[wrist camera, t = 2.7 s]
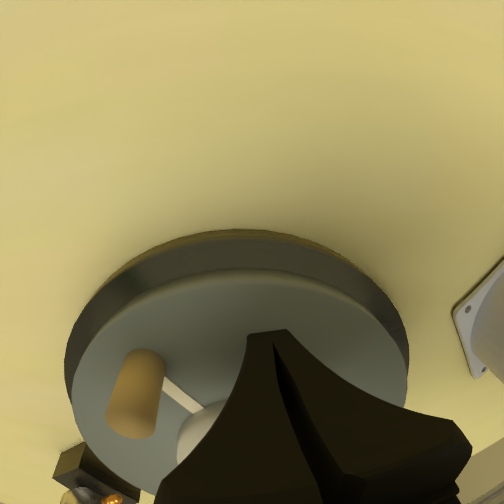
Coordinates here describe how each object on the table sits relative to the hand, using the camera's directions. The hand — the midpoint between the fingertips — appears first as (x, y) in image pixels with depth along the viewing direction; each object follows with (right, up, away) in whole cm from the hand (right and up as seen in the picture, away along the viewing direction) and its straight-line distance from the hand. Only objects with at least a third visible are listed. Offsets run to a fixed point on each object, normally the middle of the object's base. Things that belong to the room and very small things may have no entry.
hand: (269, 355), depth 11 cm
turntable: (-1, -5, +4) cm, 6 cm away
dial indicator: (-12, -12, +7) cm, 18 cm away
